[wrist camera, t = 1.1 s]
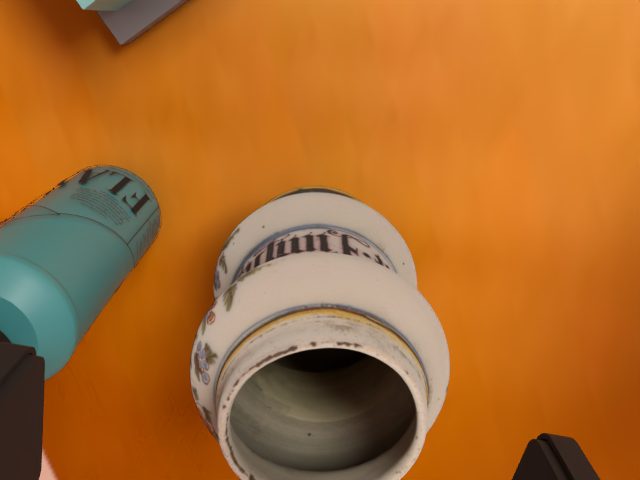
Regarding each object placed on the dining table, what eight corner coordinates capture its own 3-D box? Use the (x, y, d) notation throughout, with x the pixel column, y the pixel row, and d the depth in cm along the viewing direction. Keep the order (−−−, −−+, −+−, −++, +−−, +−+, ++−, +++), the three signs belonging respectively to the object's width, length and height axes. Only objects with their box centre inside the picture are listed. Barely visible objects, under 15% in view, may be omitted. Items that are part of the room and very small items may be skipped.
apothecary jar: (417, 306, 40) (495, 512, 23) (258, 345, 41) (223, 570, 24) (380, 146, 36) (441, 259, 19) (203, 195, 37) (113, 343, 20)
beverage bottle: (183, 180, 36) (49, 349, 18) (151, 264, 38) (3, 494, 20) (85, 139, 35) (-167, 274, 17) (58, 229, 37) (-190, 436, 19)
